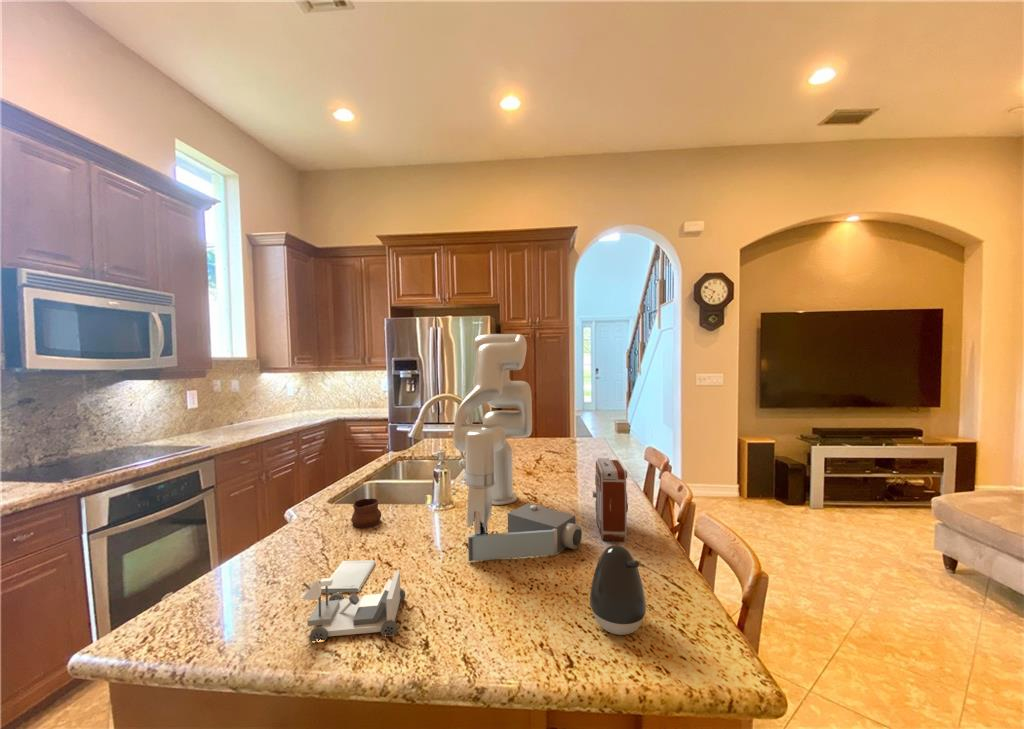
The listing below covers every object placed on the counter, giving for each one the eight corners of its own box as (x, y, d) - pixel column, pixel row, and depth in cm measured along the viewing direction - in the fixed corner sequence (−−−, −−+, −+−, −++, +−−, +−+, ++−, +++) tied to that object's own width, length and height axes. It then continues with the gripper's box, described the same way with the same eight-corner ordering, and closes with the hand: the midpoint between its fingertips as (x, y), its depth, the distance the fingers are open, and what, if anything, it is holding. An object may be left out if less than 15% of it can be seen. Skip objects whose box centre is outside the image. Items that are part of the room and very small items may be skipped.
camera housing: (507, 538, 116) (507, 510, 116) (528, 526, 124) (528, 500, 123) (568, 558, 104) (568, 527, 104) (587, 543, 112) (586, 515, 111)
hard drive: (358, 588, 90) (375, 559, 102) (320, 589, 89) (342, 560, 102) (358, 595, 90) (375, 566, 102) (320, 596, 89) (342, 566, 102)
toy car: (292, 593, 73) (315, 561, 85) (293, 648, 73) (316, 608, 85) (396, 585, 75) (404, 555, 87) (397, 638, 76) (405, 601, 87)
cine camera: (619, 516, 131) (619, 453, 130) (631, 543, 111) (631, 470, 111) (590, 515, 132) (590, 452, 131) (597, 542, 112) (596, 469, 112)
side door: (468, 562, 101) (468, 537, 101) (468, 559, 103) (468, 534, 103) (558, 555, 104) (557, 530, 104) (556, 553, 106) (556, 528, 106)
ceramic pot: (333, 539, 116) (333, 514, 116) (336, 517, 133) (337, 495, 133) (399, 531, 122) (399, 507, 122) (394, 511, 139) (394, 490, 139)
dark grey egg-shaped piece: (616, 652, 71) (615, 564, 70) (579, 618, 80) (578, 541, 80) (658, 633, 76) (658, 551, 75) (619, 603, 85) (619, 530, 84)
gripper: (472, 469, 114) (473, 535, 114) (459, 487, 99) (460, 562, 99) (499, 470, 113) (500, 536, 113) (490, 488, 98) (491, 564, 98)
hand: (481, 548), depth 106 cm, fingers closed
